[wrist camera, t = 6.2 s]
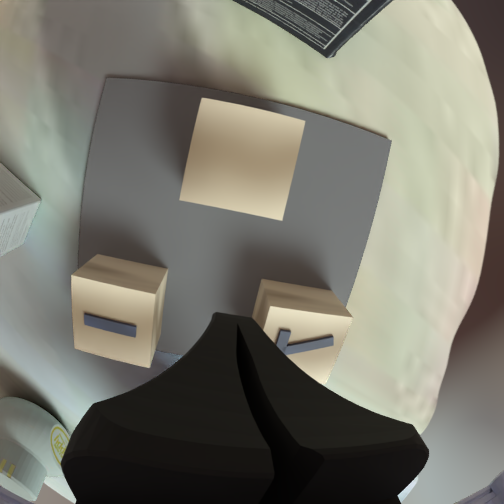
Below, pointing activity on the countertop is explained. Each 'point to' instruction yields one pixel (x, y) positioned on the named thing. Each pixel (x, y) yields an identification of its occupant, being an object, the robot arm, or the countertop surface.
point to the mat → (218, 219)
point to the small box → (319, 19)
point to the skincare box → (15, 211)
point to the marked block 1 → (118, 309)
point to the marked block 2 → (303, 324)
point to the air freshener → (29, 447)
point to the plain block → (241, 159)
